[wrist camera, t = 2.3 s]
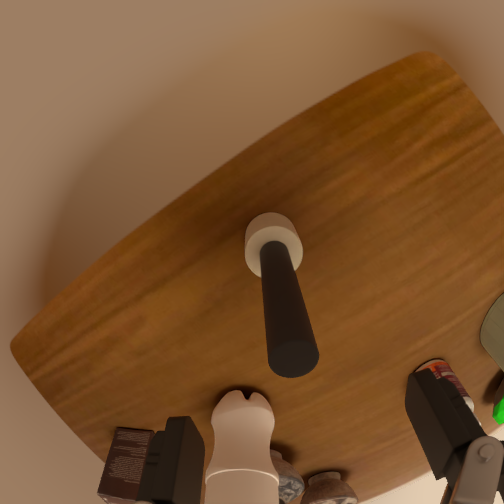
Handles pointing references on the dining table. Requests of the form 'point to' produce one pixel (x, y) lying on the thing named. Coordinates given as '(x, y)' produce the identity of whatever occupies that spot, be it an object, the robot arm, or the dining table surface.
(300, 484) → the pottery
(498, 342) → the jar
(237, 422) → the water bottle
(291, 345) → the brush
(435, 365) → the pill bottle
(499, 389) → the green rounded lump
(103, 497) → the box
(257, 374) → the dining table surface
